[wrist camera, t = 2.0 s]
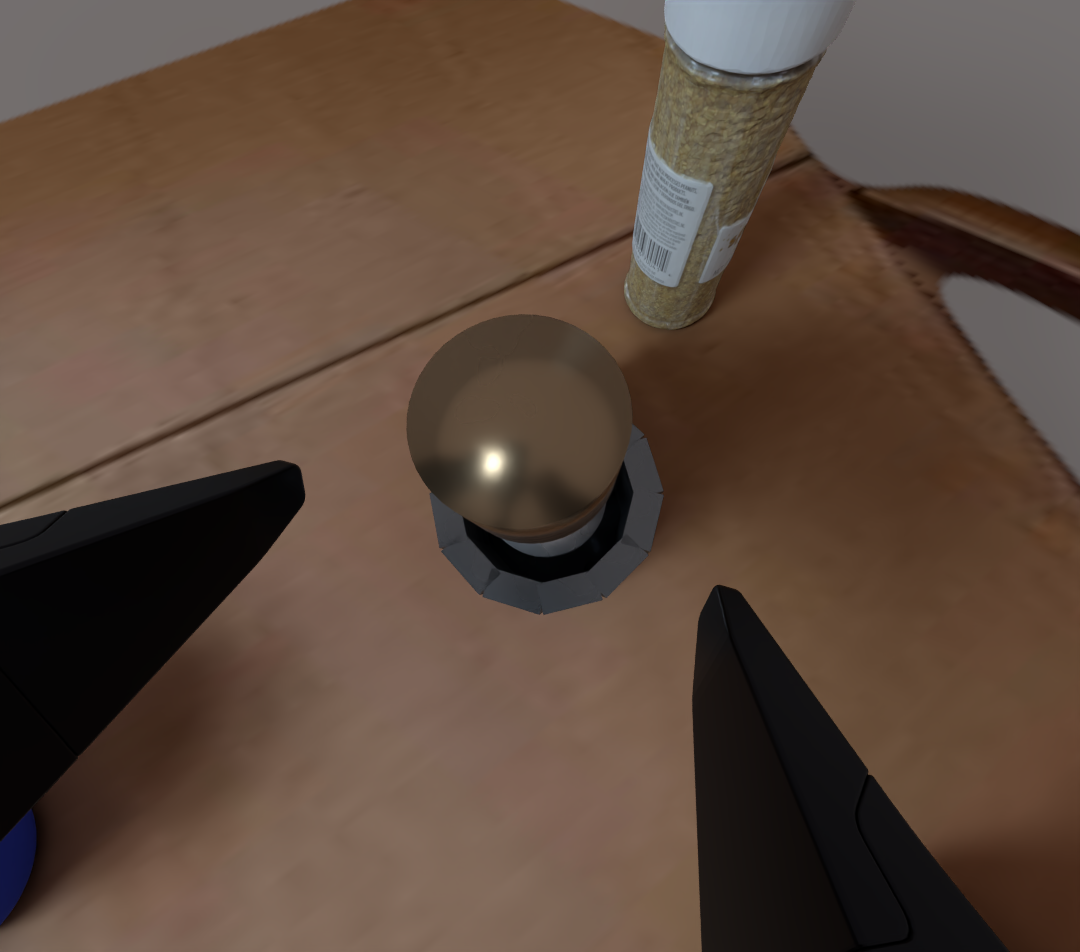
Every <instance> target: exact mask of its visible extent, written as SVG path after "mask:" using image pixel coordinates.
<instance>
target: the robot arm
mask: <svg viewBox="0 0 1080 952" xmlns="http://www.w3.org/2000/svg"><path fill="white" fill-rule="evenodd" d="M304 501H305V490H304V484H303V479H302V473H301V469H300V468H299V466H298V465H296V464H293V463H290V462H286V461H282V460H277V461H273V462H269V463H264V464H260V465H256V466H251V467H247V468H243V469H239V470H234V471H230V472H226V473H222V474H217V475H213V476H209V477H205V478H200V479H196V480H192V481H188V482H183V483H179V484H175V485H171V486H166V487H162V488H158V489H154V490H149V491H145V492H141V493H137V494H132V495H128V496H124V497H120V498H115V499H111V500H107V501H103V502H98V503H94V504H90V505H86V506H81V507H77V508H73V509H70V510H69V511H60V512H55V513H51V514H47V515H43V516H39V517H34V518H30V519H25V520H21V521H16V522H12V523H7V524H3V525H0V842H1V841H2V840H3V839H4V838H5V837H6V835H7V834H8V833H9V832H10V831H11V830H12V829H13V828H14V827H15V826H16V825H17V824H18V823H19V821H20V820H21V819H22V818H23V817H24V816H25V815H26V814H27V813H28V812H29V811H30V810H31V808H32V807H33V806H34V805H35V804H36V803H37V802H38V801H39V800H40V799H41V798H42V797H43V795H44V794H45V793H46V792H47V791H48V790H49V789H50V788H51V787H52V786H53V785H54V784H55V783H56V781H57V780H58V779H59V778H60V777H61V776H62V775H63V774H64V773H65V772H66V771H67V770H68V768H69V767H70V766H71V765H72V764H73V763H74V762H75V761H76V760H77V759H78V756H79V755H81V754H82V753H83V752H84V751H85V750H86V749H87V747H88V746H89V745H90V744H91V743H92V742H93V741H94V740H95V739H96V738H97V737H98V736H99V735H100V733H101V732H102V731H103V730H104V729H105V728H106V727H107V726H108V725H109V724H110V723H111V722H112V720H113V719H114V718H115V717H116V716H117V715H118V714H119V713H120V712H121V711H122V710H123V709H124V708H125V706H126V705H127V704H128V703H129V702H130V701H131V700H132V699H133V698H134V697H135V696H136V695H137V693H138V692H139V691H140V690H141V689H142V688H143V687H144V686H145V685H146V684H147V683H148V682H149V681H150V679H151V678H152V677H153V676H154V675H155V674H156V673H157V672H158V671H159V670H160V669H161V668H162V666H163V665H164V664H165V663H166V662H167V661H168V660H169V659H170V658H171V657H172V656H173V655H174V654H175V652H176V651H177V650H178V649H179V648H180V647H181V646H182V645H183V644H184V643H185V642H186V641H187V639H188V638H189V637H190V636H191V635H192V634H193V633H194V632H195V631H196V630H197V629H198V628H199V627H200V625H201V624H202V623H203V622H204V621H205V620H206V619H207V618H208V617H209V616H210V615H211V614H212V612H213V611H214V610H215V609H216V608H217V607H218V606H219V605H220V604H221V603H222V602H223V601H224V600H225V598H226V597H227V596H228V595H229V594H230V593H231V592H232V591H233V590H234V589H235V588H236V587H237V585H238V584H239V583H240V582H241V581H242V580H243V579H244V578H245V577H246V576H247V575H248V574H249V573H250V571H251V570H252V569H253V568H254V567H255V566H256V565H257V564H258V563H259V561H260V560H261V559H262V558H263V557H264V555H265V554H266V553H267V552H268V550H269V549H270V548H271V546H272V545H273V544H274V542H275V541H276V540H277V539H278V537H279V536H280V535H281V533H282V532H283V531H284V529H285V528H286V527H287V525H288V524H289V523H290V521H291V520H292V519H293V517H294V516H295V515H296V513H297V512H298V511H299V510H300V508H301V507H302V505H303V503H304ZM692 712H693V738H694V763H695V789H696V814H697V840H698V866H699V891H700V917H701V942H702V952H1009V950H1008V949H1007V948H1006V947H1005V945H1004V944H1003V943H1002V942H1001V940H1000V939H999V938H998V937H997V936H996V934H995V933H994V932H993V931H992V929H991V928H990V927H989V926H988V925H987V923H986V922H985V921H984V920H983V918H982V917H981V916H980V915H979V913H978V912H977V911H976V910H975V909H974V907H973V906H972V905H971V904H970V902H969V901H968V900H967V899H966V898H965V896H964V895H963V894H962V893H961V891H960V890H959V889H958V888H957V886H956V885H955V884H954V883H953V881H952V880H951V879H950V877H949V876H948V875H947V874H946V872H945V871H944V870H943V869H942V867H941V866H940V865H939V864H938V862H937V861H936V860H935V859H934V857H933V856H932V855H931V854H930V852H929V851H928V850H927V848H926V847H925V846H924V845H923V843H922V842H921V841H920V839H919V838H918V837H917V835H916V834H915V833H914V831H913V830H912V829H911V827H910V826H909V825H908V823H907V822H906V821H905V819H904V818H903V817H902V815H901V814H900V813H899V811H898V810H897V809H896V807H895V806H894V805H893V803H892V802H891V800H890V799H889V798H888V796H887V795H886V794H885V792H884V791H883V789H882V788H881V787H880V785H879V784H878V782H877V781H876V780H875V778H874V777H873V776H872V775H868V769H867V767H866V766H865V765H864V763H863V762H862V761H861V759H860V758H859V756H858V755H857V754H856V752H855V751H854V749H853V748H852V747H851V745H850V744H849V742H848V741H847V740H846V738H845V737H844V736H843V734H842V733H841V731H840V730H839V729H838V727H837V726H836V724H835V723H834V722H833V720H832V719H831V718H830V716H829V715H828V713H827V712H826V711H825V709H824V708H823V706H822V705H821V704H820V702H819V701H818V699H817V698H816V697H815V695H814V694H813V693H812V691H811V690H810V688H809V687H808V686H807V684H806V683H805V681H804V680H803V679H802V677H801V676H800V674H799V673H798V672H797V670H796V669H795V668H794V666H793V665H792V663H791V662H790V661H789V659H788V658H787V656H786V655H785V654H784V652H783V651H782V650H781V648H780V647H779V645H778V644H777V643H776V641H775V640H774V638H773V637H772V636H771V634H770V633H769V631H768V630H767V629H766V627H765V626H764V625H763V623H762V622H761V620H760V619H759V618H758V616H757V615H756V613H755V612H754V611H753V609H752V608H751V606H750V605H749V604H748V602H747V601H746V600H745V598H744V597H743V595H742V594H741V593H740V592H739V591H738V590H736V589H733V588H729V587H726V586H722V585H716V586H715V587H714V588H713V589H712V591H711V593H710V595H709V597H708V599H707V601H706V603H705V605H704V607H703V609H702V611H701V614H700V617H699V621H698V631H697V643H696V655H695V668H694V680H693V695H692Z"/></svg>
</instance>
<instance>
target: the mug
mask: <svg viewBox="0 0 1080 952" xmlns="http://www.w3.org/2000/svg"><path fill="white" fill-rule="evenodd" d="M35 851H36V825H35V819H34V815H33V812H32V809H31V810H30V811H29V812H28V813H27V814H26V815H25V816H24V817H23V818H22V819H21V820H20V821H19V823H18V824H17V825H16V826H15V827H14V828H13V829H12V830H11V831H10V832H9V833H8V834H7V835H6V837H5V838H4V839H3V840H2V841H1V842H0V925H1V924H2V923H3V921H4V920H5V919H6V918H7V916H8V915H9V914H10V912H11V911H12V909H13V908H14V906H15V905H16V903H17V902H18V900H19V898H20V896H21V895H22V892H23V890H24V888H25V886H26V884H27V881H28V879H29V876H30V873H31V870H32V866H33V863H34V858H35Z"/></svg>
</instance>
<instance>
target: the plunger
mask: <svg viewBox="0 0 1080 952" xmlns="http://www.w3.org/2000/svg"><path fill="white" fill-rule="evenodd" d="M632 415H633V414H632V404H631V397H630V393H629V389H628V386H627V383H626V381H625V378H624V376H623V373H622V371H621V370H620V368H619V366H618V364H617V363H616V361H615V360H614V359H613V357H612V356H611V355H610V353H609V352H608V351H607V350H606V349H605V348H604V347H603V346H602V345H601V344H600V343H599V342H598V341H597V340H596V339H594V338H593V337H592V336H590V335H589V334H588V333H586V332H585V331H583V330H581V329H579V328H578V327H576V326H574V325H571V324H569V323H566V322H564V321H561V320H558V319H554V318H551V317H546V316H539V315H522V314H521V315H509V316H503V317H498V318H493V319H490V320H487V321H484V322H481V323H479V324H477V325H474V326H472V327H470V328H468V329H466V330H464V331H463V332H461V333H459V334H458V335H456V336H455V337H454V338H452V339H451V340H450V341H448V342H447V343H446V344H445V345H444V346H443V347H441V348H440V349H439V350H438V351H437V352H436V353H435V354H434V356H433V357H432V358H431V360H430V361H429V362H428V363H427V365H426V366H425V368H424V369H423V371H422V373H421V374H420V376H419V378H418V380H417V382H416V384H415V387H414V389H413V392H412V395H411V398H410V402H409V407H408V413H407V439H408V445H409V449H410V453H411V457H412V460H413V462H414V465H415V467H416V470H417V471H418V473H419V475H420V477H421V478H422V480H423V482H424V483H425V484H426V486H427V487H428V488H429V489H430V491H431V492H432V493H433V494H434V495H435V496H436V497H437V498H438V499H439V500H440V501H441V502H442V503H443V504H445V505H446V506H448V507H449V508H450V509H452V510H453V511H455V512H456V513H458V514H459V515H461V516H463V517H464V518H466V519H467V520H469V521H471V522H472V523H474V524H476V525H477V526H479V527H480V528H482V529H484V530H485V531H487V532H489V533H491V534H493V535H495V536H497V537H499V538H502V539H503V540H504V541H505V542H506V543H507V544H509V545H510V546H512V547H513V548H515V549H516V550H518V551H520V552H522V553H525V554H528V555H531V556H536V557H556V556H561V555H564V554H567V553H570V552H572V551H574V550H576V549H577V548H579V547H580V546H582V545H583V544H584V543H585V542H587V541H588V540H589V539H590V537H591V536H592V535H593V534H594V532H595V531H596V530H597V528H598V526H599V524H600V522H601V520H602V517H603V514H604V511H605V506H606V502H607V500H608V498H609V496H610V494H611V492H612V490H613V487H614V484H615V481H616V479H617V476H618V473H619V471H620V468H621V465H622V462H623V460H624V457H625V454H626V451H627V448H628V445H629V441H630V436H631V431H632Z"/></svg>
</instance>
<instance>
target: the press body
mask: <svg viewBox="0 0 1080 952" xmlns="http://www.w3.org/2000/svg"><path fill="white" fill-rule="evenodd" d="M643 436H644V434H643V433H642V432H641V431H640V430H639V429H638V428H637V427H635V426H634V425H633V424H632V431H631V436H630V441H629V445H628V448H627V451H626V454H625V457H624V460H623V462H622V465H621V468H620V471H619V473H618V476H617V479H616V481H615V484H614V487H613V490H612V492H611V494H610V496H609V498H608V500H607V502H606V506H605V511H604V514H603V517H602V520H601V522H600V524H599V526H598V528H597V530H596V531H595V532H594V534H593V535H592V536H591V537H590V539H589V540H588V541H587V542H585V543H584V544H583V545H582V546H580V547H579V548H577V549H576V550H574V551H572V552H570V553H567V554H564V555H561V556H556V557H536V556H531V555H528V554H525V553H522V552H520V551H518V550H516V549H515V548H513V547H512V546H510V545H509V544H507V543H506V542H505V541H504V540H503V539H502V538H499V537H497V536H495V535H493V534H491V533H489V532H487V531H485V530H484V529H482V528H480V527H479V526H477V525H476V524H474V523H472V522H471V521H469V520H467V519H466V518H464V517H463V516H461V515H459V514H458V513H456V512H455V511H453V510H452V509H450V508H449V507H448V506H446V505H445V504H443V503H442V502H441V501H440V500H439V499H438V498H437V497H436V496H435V495H434V494H433V493H430V499H431V504H432V509H433V515H434V520H435V526H436V531H437V537H438V542H439V548H442V549H443V550H442V551H441V552H442V553H443V554H444V555H445V556H446V557H447V559H448V560H449V561H450V562H451V563H452V564H453V565H454V567H455V568H456V569H457V570H458V571H459V572H460V573H461V575H462V576H463V577H464V578H465V579H466V580H467V581H468V583H469V584H470V585H471V586H472V587H473V588H474V589H475V591H476V592H477V593H478V594H479V595H481V594H483V597H485V598H488V599H491V600H494V601H497V602H501V603H504V604H507V605H510V606H513V607H517V608H520V609H523V610H526V611H529V612H533V613H536V614H539V615H540V614H541V613H542V612H543V614H544V615H545V614H549V613H553V612H557V611H561V610H565V609H569V608H573V607H577V606H581V605H585V604H589V603H593V602H597V601H601V600H602V597H605V598H607V597H608V596H609V595H610V594H611V593H612V592H613V591H614V590H615V589H616V588H617V586H618V585H619V584H620V583H621V582H622V581H623V580H624V579H625V578H626V577H627V576H628V575H629V574H630V573H631V572H632V571H633V570H634V569H635V568H636V567H637V566H638V565H639V564H640V563H641V562H642V561H643V560H644V559H645V558H646V557H647V556H648V554H647V553H648V552H650V551H651V547H652V543H653V539H654V534H655V530H656V526H657V522H658V517H659V513H660V509H661V505H662V500H663V496H664V495H662V494H661V493H662V492H663V488H662V484H661V481H660V478H659V475H658V472H657V469H656V466H655V463H654V460H653V456H652V453H651V450H650V447H649V444H648V441H647V438H643Z"/></svg>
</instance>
